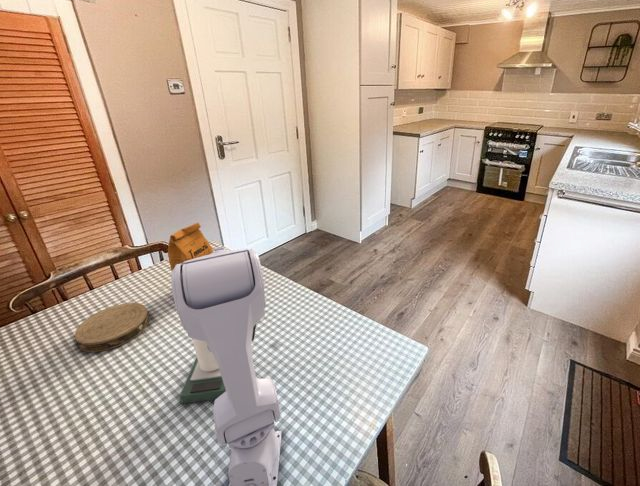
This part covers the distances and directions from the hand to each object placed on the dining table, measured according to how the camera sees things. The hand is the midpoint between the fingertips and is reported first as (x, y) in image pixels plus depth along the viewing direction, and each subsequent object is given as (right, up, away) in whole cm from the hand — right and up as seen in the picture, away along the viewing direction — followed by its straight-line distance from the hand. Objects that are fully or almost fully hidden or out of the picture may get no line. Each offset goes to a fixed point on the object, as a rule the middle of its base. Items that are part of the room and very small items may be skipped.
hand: (240, 352), depth 69 cm
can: (-7, -4, +3) cm, 9 cm away
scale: (-7, -7, +3) cm, 10 cm away
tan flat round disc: (-42, -1, +16) cm, 45 cm away
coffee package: (-29, +6, +36) cm, 47 cm away
